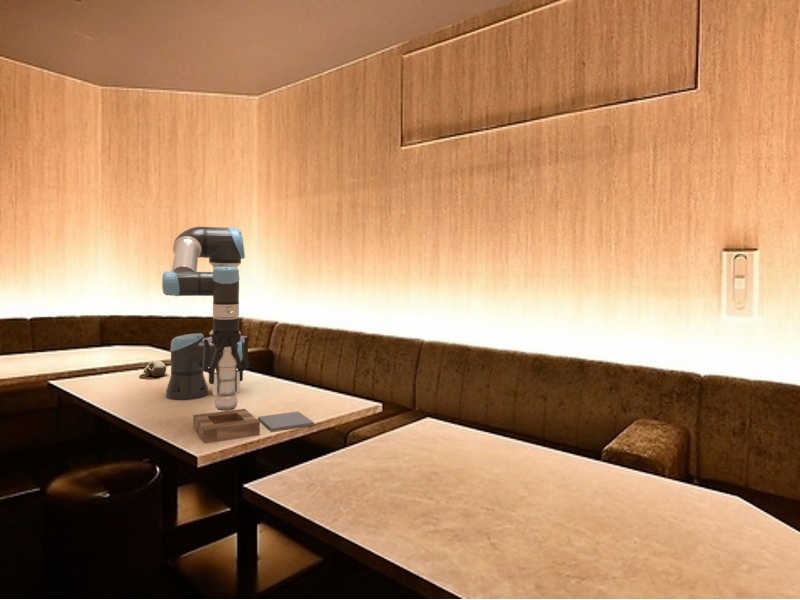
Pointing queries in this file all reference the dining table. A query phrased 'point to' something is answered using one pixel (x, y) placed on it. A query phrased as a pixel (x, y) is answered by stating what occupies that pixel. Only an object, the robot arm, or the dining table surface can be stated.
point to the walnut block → (225, 425)
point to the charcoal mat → (285, 421)
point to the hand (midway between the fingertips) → (226, 392)
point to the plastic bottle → (226, 380)
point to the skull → (154, 370)
